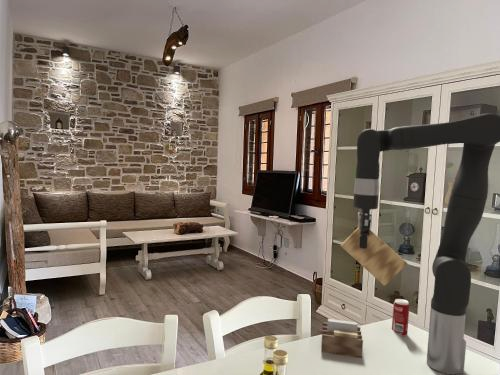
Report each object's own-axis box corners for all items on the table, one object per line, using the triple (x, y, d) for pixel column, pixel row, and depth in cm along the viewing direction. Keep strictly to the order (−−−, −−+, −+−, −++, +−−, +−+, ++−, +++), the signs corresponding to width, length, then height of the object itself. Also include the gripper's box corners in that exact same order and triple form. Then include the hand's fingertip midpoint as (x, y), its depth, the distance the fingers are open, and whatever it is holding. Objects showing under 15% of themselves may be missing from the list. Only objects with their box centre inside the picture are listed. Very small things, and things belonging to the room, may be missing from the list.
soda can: (396, 329, 137) (398, 297, 136) (410, 334, 133) (412, 301, 132) (388, 333, 133) (391, 300, 133) (402, 338, 129) (405, 304, 129)
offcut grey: (355, 347, 118) (357, 322, 118) (355, 349, 116) (357, 324, 116) (326, 343, 120) (327, 318, 119) (326, 345, 118) (327, 321, 118)
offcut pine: (356, 351, 115) (357, 332, 115) (356, 354, 113) (357, 335, 113) (332, 348, 117) (334, 329, 116) (332, 351, 115) (334, 332, 114)
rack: (359, 346, 122) (360, 327, 121) (361, 362, 111) (363, 341, 111) (321, 341, 124) (322, 322, 124) (321, 356, 114) (322, 336, 114)
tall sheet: (406, 262, 117) (362, 222, 120) (407, 263, 115) (362, 223, 118) (383, 284, 119) (340, 244, 121) (384, 285, 117) (340, 246, 119)
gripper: (381, 195, 111) (377, 253, 111) (375, 192, 124) (372, 244, 125) (355, 193, 112) (351, 250, 113) (352, 191, 126) (349, 242, 126)
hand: (362, 247), depth 119 cm, fingers closed on tall sheet, 2 cm apart
